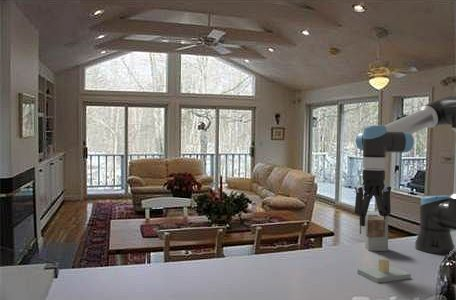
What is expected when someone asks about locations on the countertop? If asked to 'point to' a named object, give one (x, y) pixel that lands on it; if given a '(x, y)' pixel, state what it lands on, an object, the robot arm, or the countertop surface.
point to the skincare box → (377, 242)
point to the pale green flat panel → (383, 272)
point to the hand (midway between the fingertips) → (372, 234)
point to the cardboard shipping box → (375, 227)
